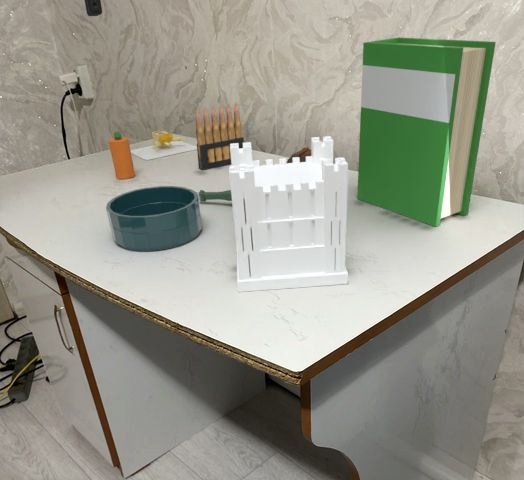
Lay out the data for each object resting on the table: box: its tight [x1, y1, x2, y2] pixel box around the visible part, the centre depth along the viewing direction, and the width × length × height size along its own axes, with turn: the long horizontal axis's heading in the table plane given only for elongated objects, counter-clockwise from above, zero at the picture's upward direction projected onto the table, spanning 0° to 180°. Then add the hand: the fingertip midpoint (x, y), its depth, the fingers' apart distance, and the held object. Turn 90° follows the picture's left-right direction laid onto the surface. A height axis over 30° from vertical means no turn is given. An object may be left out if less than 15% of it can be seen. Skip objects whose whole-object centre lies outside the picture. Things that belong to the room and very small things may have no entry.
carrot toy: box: [108, 130, 136, 180], centre depth 112 cm, size 4×4×9 cm
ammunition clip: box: [195, 102, 245, 171], centre depth 114 cm, size 11×2×12 cm, turn 118°
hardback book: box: [356, 36, 497, 228], centre depth 83 cm, size 18×7×24 cm, turn 34°
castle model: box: [228, 135, 349, 293], centre depth 70 cm, size 14×14×15 cm
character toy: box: [151, 129, 185, 148], centre depth 131 cm, size 8×3×8 cm
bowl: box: [105, 185, 203, 252], centre depth 85 cm, size 14×14×6 cm
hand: (94, 15), depth 95 cm, fingers open, 8 cm apart
